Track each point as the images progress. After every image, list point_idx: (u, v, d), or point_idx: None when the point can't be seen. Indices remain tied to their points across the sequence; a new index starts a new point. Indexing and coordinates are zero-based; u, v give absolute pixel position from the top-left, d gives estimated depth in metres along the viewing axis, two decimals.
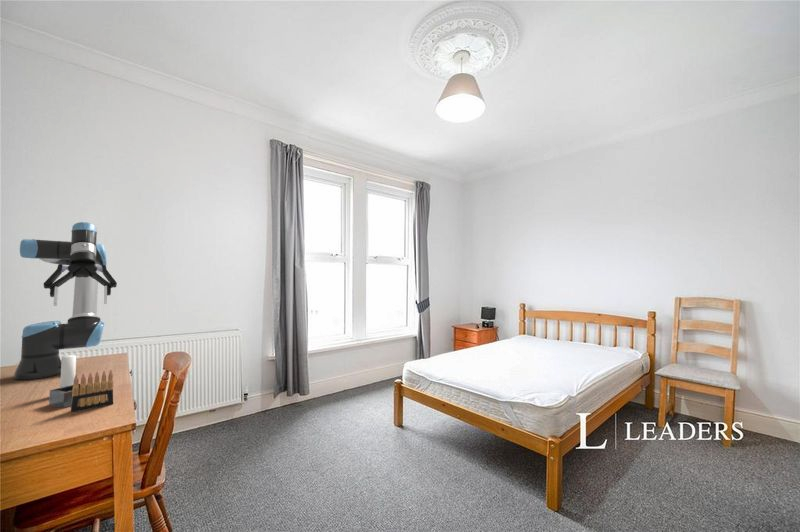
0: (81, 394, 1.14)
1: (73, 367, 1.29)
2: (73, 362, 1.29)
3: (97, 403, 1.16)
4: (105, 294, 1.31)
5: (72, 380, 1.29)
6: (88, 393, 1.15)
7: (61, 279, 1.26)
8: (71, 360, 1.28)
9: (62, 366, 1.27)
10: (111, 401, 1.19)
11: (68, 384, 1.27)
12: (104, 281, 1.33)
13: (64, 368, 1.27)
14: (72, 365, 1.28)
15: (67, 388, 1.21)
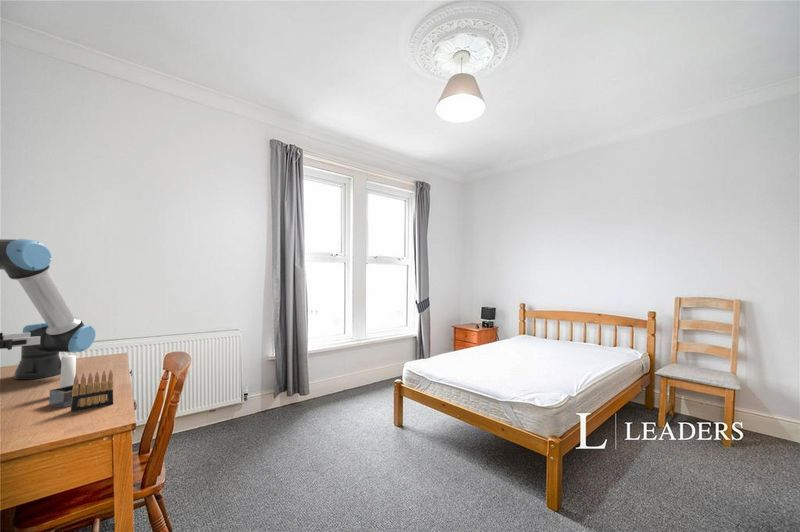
0: (81, 394, 1.14)
1: (73, 367, 1.29)
2: (73, 362, 1.29)
3: (97, 403, 1.16)
4: None
5: (72, 380, 1.29)
6: (88, 393, 1.15)
7: None
8: (71, 360, 1.28)
9: (62, 366, 1.27)
10: (111, 401, 1.19)
11: (68, 384, 1.27)
12: None
13: (64, 368, 1.27)
14: (72, 365, 1.28)
15: (67, 388, 1.21)
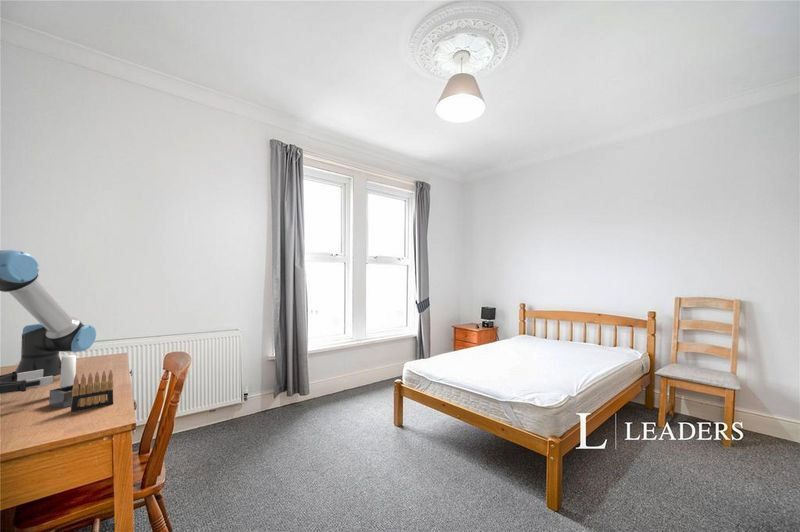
0: (81, 394, 1.14)
1: (73, 367, 1.29)
2: (73, 362, 1.29)
3: (97, 403, 1.16)
4: None
5: (72, 380, 1.29)
6: (88, 393, 1.15)
7: None
8: (71, 360, 1.28)
9: (62, 366, 1.27)
10: (111, 401, 1.19)
11: (68, 384, 1.27)
12: None
13: (64, 368, 1.27)
14: (72, 365, 1.29)
15: (67, 388, 1.21)
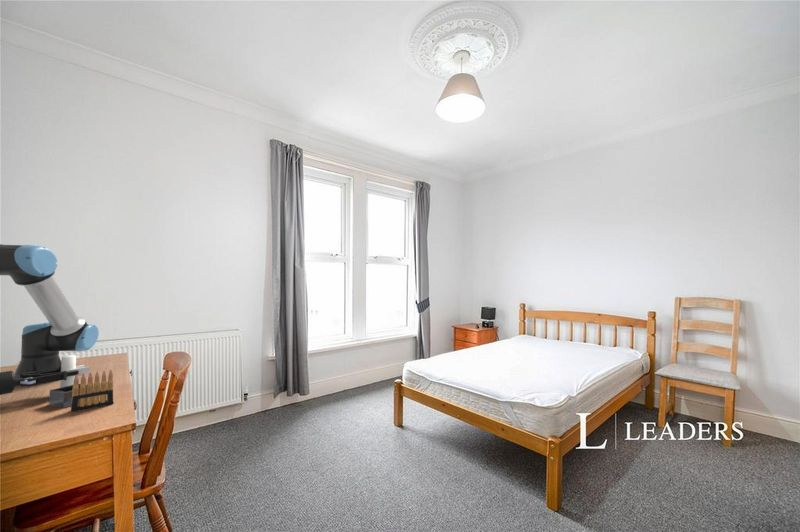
0: (81, 394, 1.14)
1: (73, 367, 1.29)
2: (73, 362, 1.29)
3: (97, 403, 1.16)
4: None
5: (72, 380, 1.29)
6: (88, 393, 1.15)
7: None
8: (71, 360, 1.28)
9: (62, 366, 1.27)
10: (111, 401, 1.19)
11: (68, 384, 1.27)
12: None
13: (64, 368, 1.27)
14: (72, 365, 1.29)
15: (67, 388, 1.21)
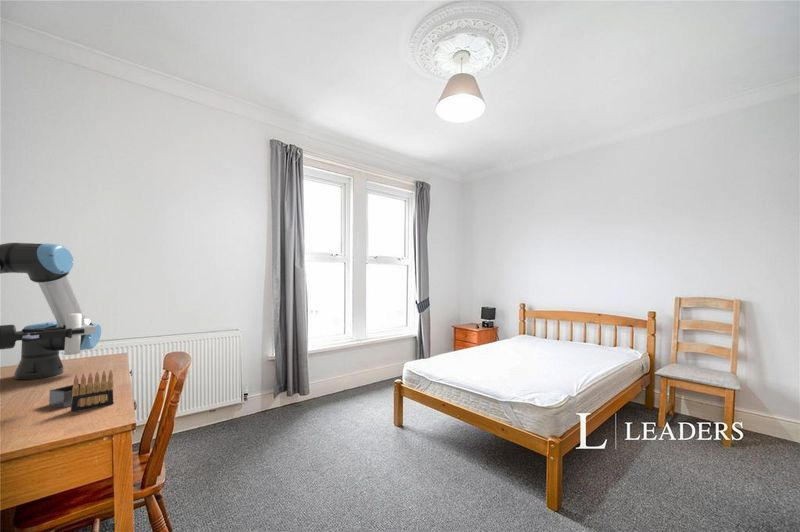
0: (81, 394, 1.14)
1: (78, 325, 1.21)
2: (79, 320, 1.21)
3: (97, 403, 1.16)
4: None
5: (77, 339, 1.20)
6: (88, 393, 1.15)
7: None
8: (76, 317, 1.20)
9: (67, 324, 1.19)
10: (111, 401, 1.19)
11: (73, 343, 1.19)
12: None
13: (69, 325, 1.19)
14: (77, 323, 1.20)
15: (67, 388, 1.21)
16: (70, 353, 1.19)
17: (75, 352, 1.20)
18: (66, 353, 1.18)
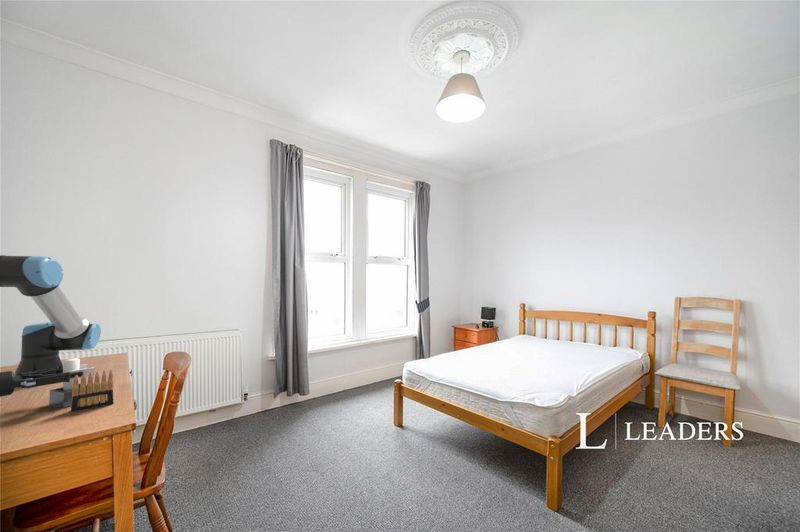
0: (81, 394, 1.14)
1: None
2: (77, 366, 1.20)
3: (97, 403, 1.16)
4: None
5: None
6: (88, 393, 1.15)
7: None
8: (74, 363, 1.19)
9: (65, 370, 1.18)
10: (111, 401, 1.19)
11: (71, 390, 1.19)
12: None
13: None
14: (75, 369, 1.20)
15: None
16: None
17: None
18: None
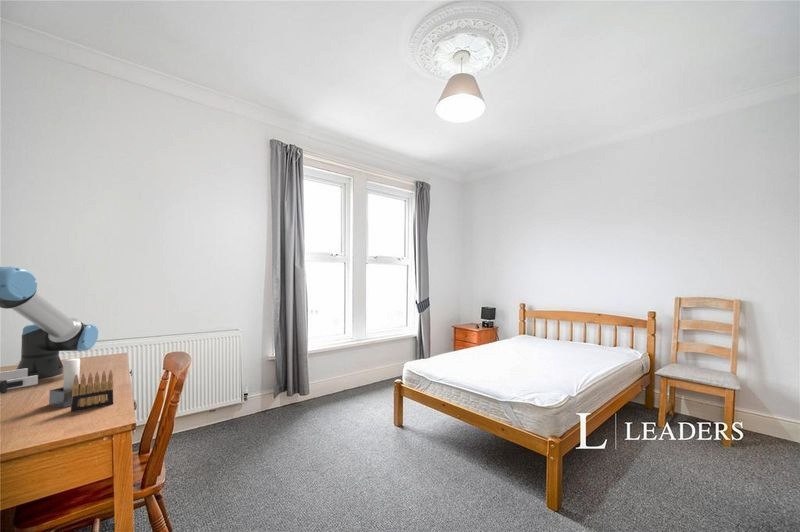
0: (81, 394, 1.14)
1: (77, 371, 1.20)
2: (77, 366, 1.20)
3: (97, 403, 1.16)
4: None
5: None
6: (88, 393, 1.15)
7: None
8: (75, 363, 1.20)
9: (65, 370, 1.18)
10: (111, 401, 1.19)
11: None
12: None
13: (67, 372, 1.18)
14: (76, 369, 1.20)
15: None
16: None
17: None
18: None
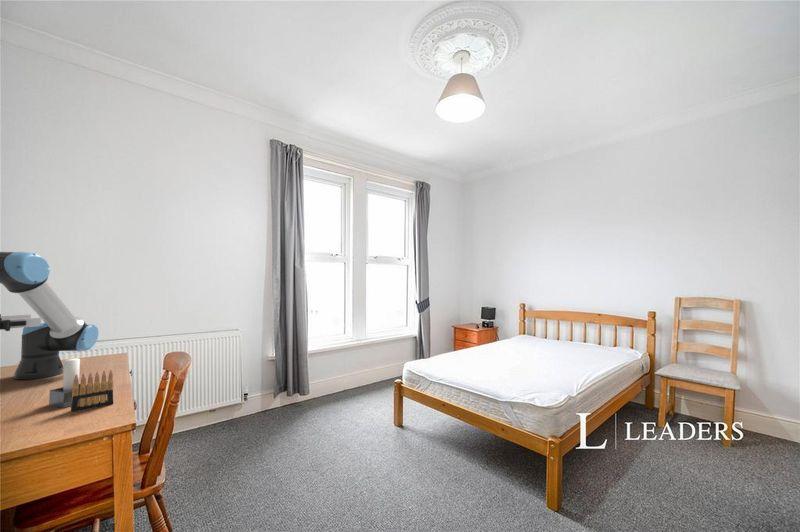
0: (81, 394, 1.14)
1: (77, 371, 1.20)
2: (77, 366, 1.20)
3: (97, 403, 1.16)
4: None
5: None
6: (88, 393, 1.15)
7: None
8: (74, 363, 1.19)
9: (65, 370, 1.18)
10: (111, 401, 1.19)
11: (71, 389, 1.19)
12: None
13: (67, 372, 1.18)
14: (76, 369, 1.20)
15: None
16: None
17: None
18: None
